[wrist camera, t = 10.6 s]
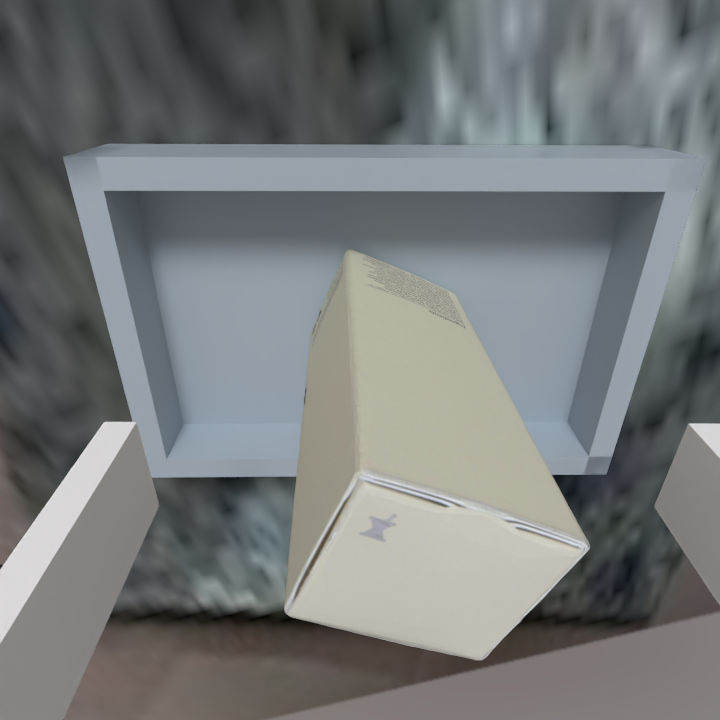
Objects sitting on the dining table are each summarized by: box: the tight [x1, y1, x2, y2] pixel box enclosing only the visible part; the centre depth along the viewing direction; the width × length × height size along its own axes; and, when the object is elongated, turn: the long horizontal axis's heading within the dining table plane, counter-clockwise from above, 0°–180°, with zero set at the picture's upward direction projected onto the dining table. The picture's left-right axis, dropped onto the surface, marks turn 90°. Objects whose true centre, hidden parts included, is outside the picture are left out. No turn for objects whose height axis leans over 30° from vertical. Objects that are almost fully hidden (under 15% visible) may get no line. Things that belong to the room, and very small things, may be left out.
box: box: [284, 249, 590, 660], centre depth 16 cm, size 5×4×13 cm
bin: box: [63, 144, 706, 478], centre depth 20 cm, size 13×20×3 cm, turn 90°
